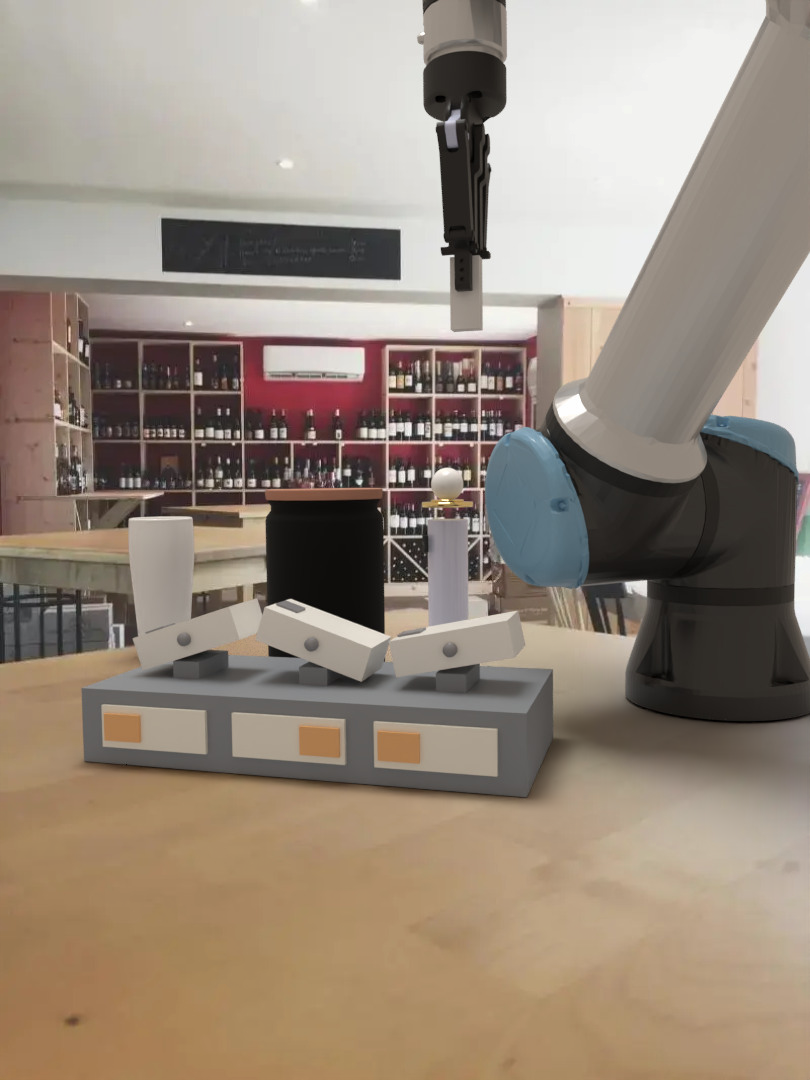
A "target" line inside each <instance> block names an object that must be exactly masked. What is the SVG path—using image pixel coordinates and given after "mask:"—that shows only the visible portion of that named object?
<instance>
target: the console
mask: <svg viewBox="0 0 810 1080" xmlns="http://www.w3.org/2000/svg"><path fill="white" fill-rule="evenodd" d="M80 691H81V710H82V711H81V713H82V715H81V716H82V741H83V743H82V745H83V761H84V762H90V763H102V764H117V765H126V764H127V765H128V766H139V767H140V766H141V767H151V768H152V767H153V768H163V769H177V770H188V771H199V772H200V771H201V772H211V773H212V772H213V773H226V774H236V775H237V774H240V775H247V776H248V775H251V776H264V777H273V778H274V777H275V778H276V777H277V778H285V779H286V778H287V779H296V780H298V779H299V780H310V781H321V782H324V781H325V782H335V783H347V784H348V783H349V784H358V785H359V784H360V785H373V786H384V787H385V786H386V787H397V788H406V789H407V788H409V789H420V790H430V791H431V790H435V791H444V792H445V791H446V792H456V793H457V792H459V793H470V794H480V795H481V794H482V795H483V794H484V795H494V796H505V797H506V796H507V797H508V796H509V797H519V798H520V797H521V798H527V797H529V796H528V795H529V793H530V791H531V789H532V786H533V784H534V782H535V780H536V777H537V776H538V773H539V771H540V768H541V766H542V763H543V761H544V759H545V756H546V755H547V752H548V750H549V747H550V746H551V744H552V741H553V739H554V669H553V668H537V667H536V668H535V667H517V666H516V667H515V666H514V667H512V666H494V665H493V666H489V665H481V663H480V664H474V665H468V666H462V667H456V668H450V669H443V670H437V671H431V672H425V673H419V674H413V675H407V676H401V677H396V674H395V669H394V665H393V661H385V662H383V665H382V668H381V669H380V670H378V671H377V672H375V673H374V674H372V675H371V676H369V677H368V678H366V679H365V680H363V681H362V682H361V681H358V680H355V679H353V678H350V677H348V676H345V675H343V674H340V673H338V672H335V671H333V670H330V669H328V668H325V667H322V666H320V665H317V664H315V663H312V662H310V661H307V660H305V659H302V658H288V657H268V656H266V655H265V656H260V655H243V654H242V655H240V654H238V655H235V654H229V650H226V649H225V650H224V649H223V650H220V649H209V650H206V651H203V652H200V653H197V654H193V655H190V656H187V657H184V658H181V659H178V660H174V661H171V662H168V663H165V664H162V665H159V666H155V667H152V668H149V669H146V670H142V667H141V666H139V667H136V668H134V669H131V670H128V671H125V672H122V673H119V674H117V675H112V677H108V678H106V679H102V680H100V681H98V682H97V681H96V682H95V683H92V684H89V685H87V686H83V687H81V690H80Z"/></svg>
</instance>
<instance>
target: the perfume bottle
mask: <svg viewBox="0 0 810 1080" xmlns="http://www.w3.org/2000/svg"><path fill="white" fill-rule="evenodd" d="M430 486H431V491H432V492H433V494H434V496H435V497H436V498H438V499H436V498H435V499H431V500H430V501H422V502H421V508H427V509H428V508H431V509H434V508H437V509H439V508H440V509H442V508H443V509H446V508H447V509H448V508H454V509H455V508H473V507H474V501H467V500H466V501H464V500H465V499H464V498H462V499H461V498H459V499H458V497H459V496H460V495H461V493H462V492H463V489H464V479H463V477H462V475H461V473H460V472H459V471H458V470H456V469H455V468H452V467H443V468H440V469H439V470H437V471H436V472H435V473H434V474H433V476H432V478H431V482H430ZM426 527H427V530H426V531H425V529H426ZM424 532H425V533H424ZM421 535H422V536H421V537H422V538H421V539H422V540H421V541H422V542H421V543H422V547H421V548H422V549H421V550H422V551H421V552H422V556H423V553H424V555H425V560H427V591H428V592H427V597H428V605H427V606H428V608H427V609H428V627H429V626H435V625H441V624H446V623H452V622H457V621H463V620H468V619H470V617H469V614H470V613H469V519H467V518H433V519H427V526H426V524H425V525H424V528H423V531H422V534H421Z"/></svg>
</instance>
